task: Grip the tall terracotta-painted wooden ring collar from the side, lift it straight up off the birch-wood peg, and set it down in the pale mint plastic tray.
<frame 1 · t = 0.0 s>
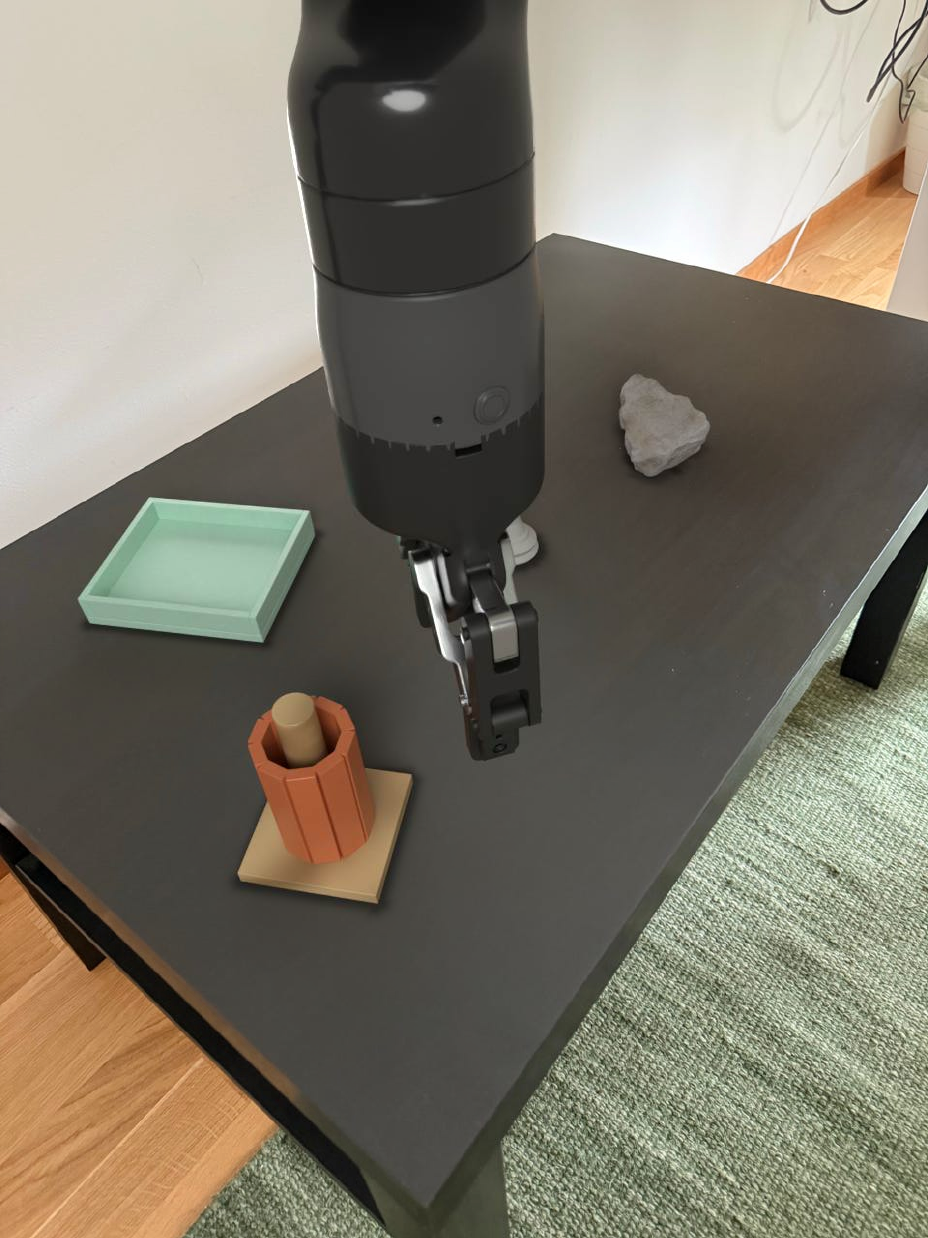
hand: (465, 681, 44), 19 cm above the table, tool pointing down, fingers open, 8 cm apart
ring collar: (327, 821, 60), point 1 cm above the table, touching peg stand
tray: (206, 577, 79), on the table
stone: (653, 450, 88), on the table
chess piece: (510, 550, 79), on the table
peg stand: (330, 830, 61), on the table
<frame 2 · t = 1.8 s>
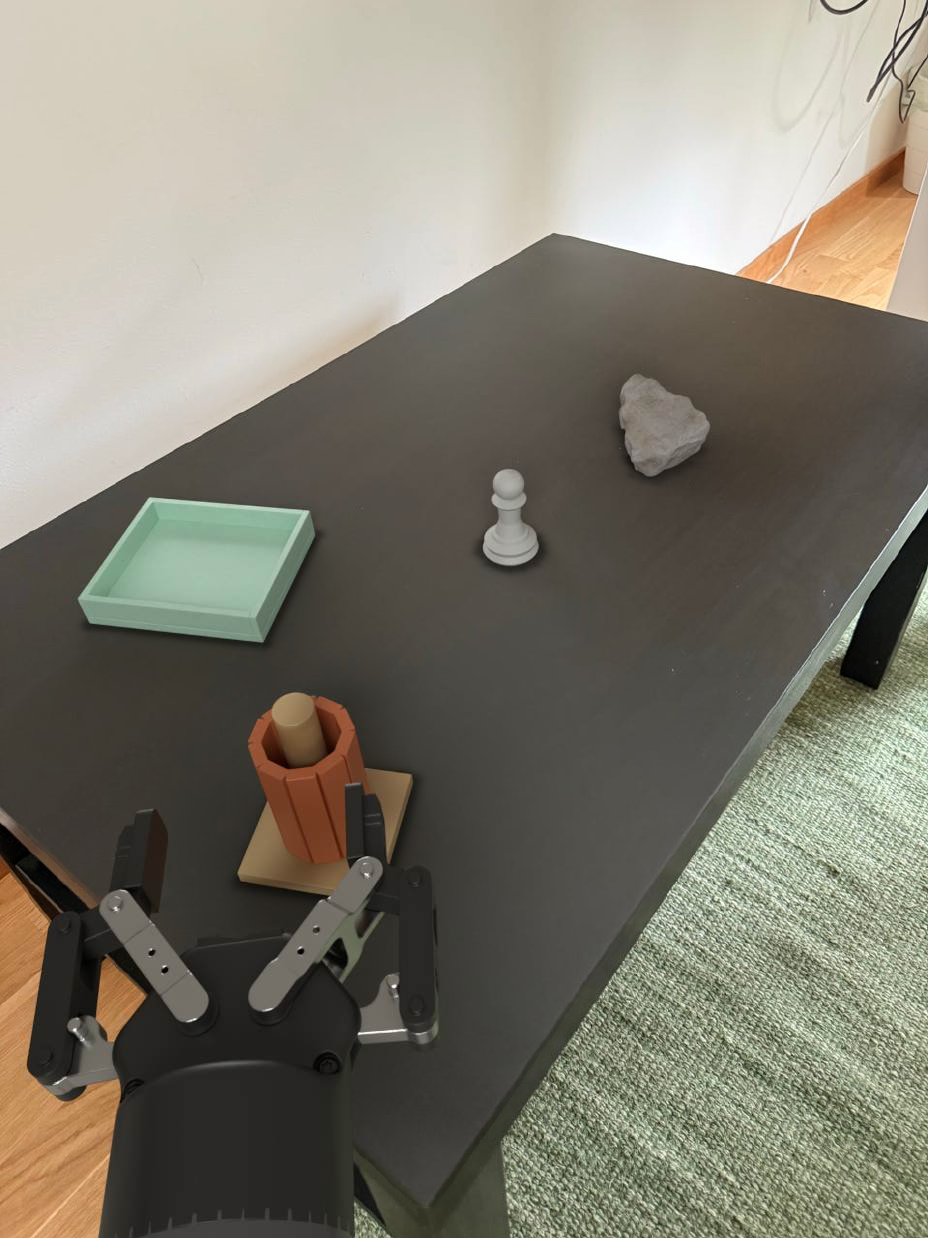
hand: (254, 806, 39), 20 cm above the table, tool horizontal, fingers open, 8 cm apart
nothing on the table moved.
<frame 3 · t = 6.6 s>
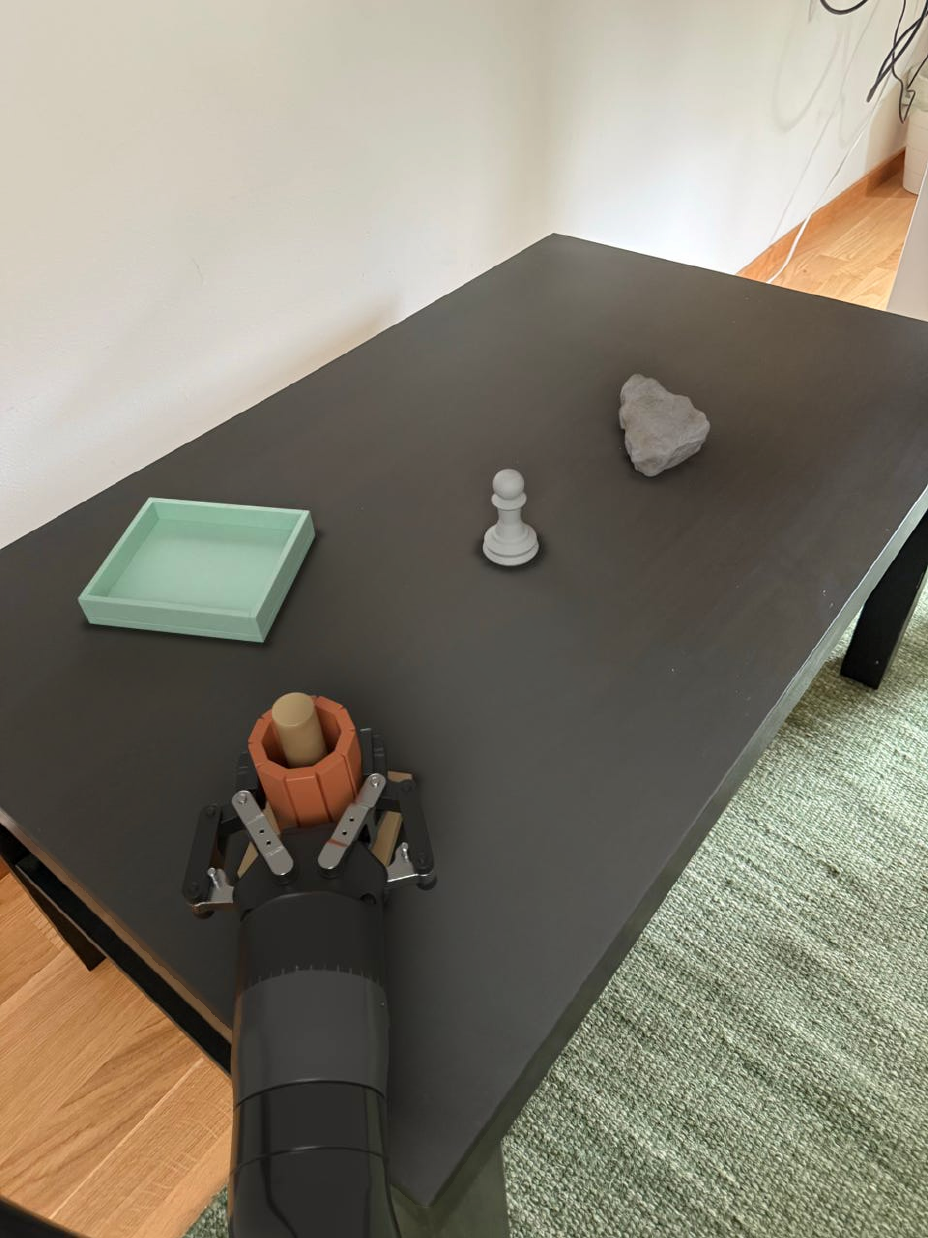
hand: (313, 743, 58), 6 cm above the table, tool horizontal, fingers closed on ring collar, 6 cm apart
ring collar: (327, 821, 60), point 1 cm above the table, touching gripper, peg stand
everything else where it was.
when the fingers open (6 cm above the table, at t = 17.7 s): ring collar stays where it is, resting on tray.
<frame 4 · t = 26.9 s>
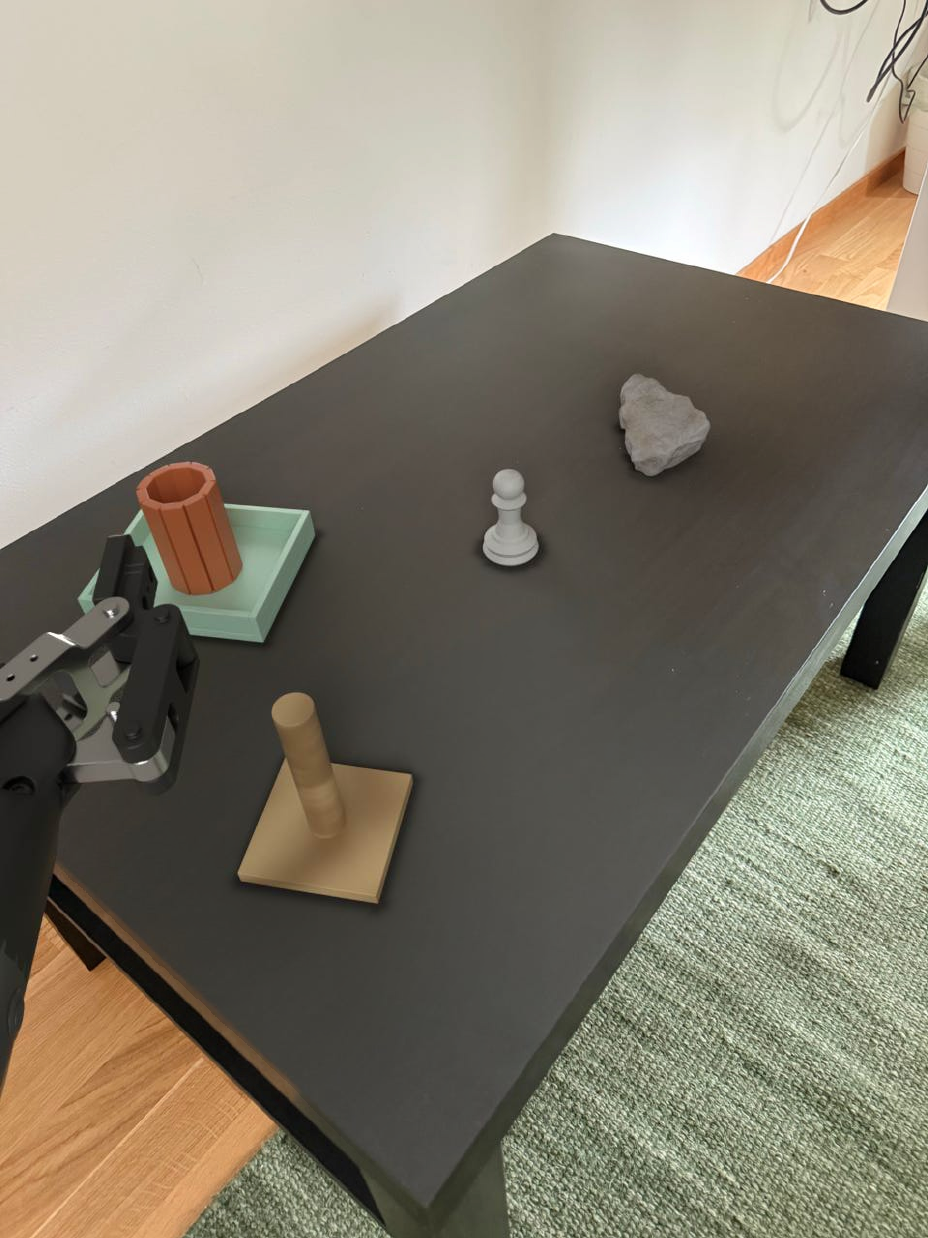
hand: (12, 565, 35), 30 cm above the table, tool horizontal, fingers open, 8 cm apart
ring collar: (206, 570, 78), point 1 cm above the table, touching tray
everything else where it was.
at the end: ring collar inside the target area in the tray (0.1 cm from its centre), point 0.8 cm above the tray's base; ring collar tilted 0°; ring collar touching tray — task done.
